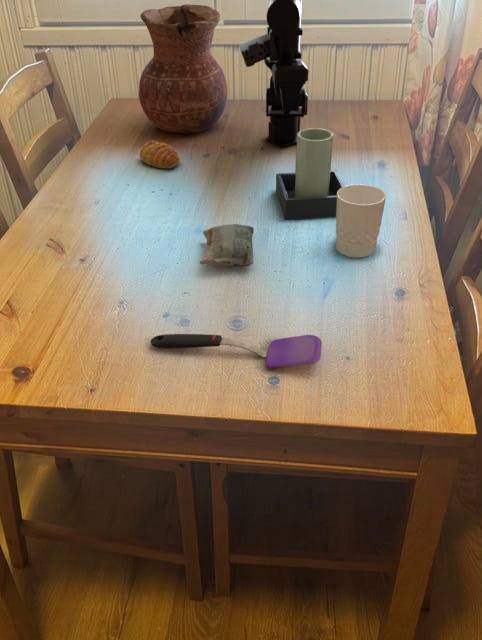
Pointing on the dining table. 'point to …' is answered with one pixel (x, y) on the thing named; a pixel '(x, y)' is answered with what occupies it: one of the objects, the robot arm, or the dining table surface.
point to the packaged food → (229, 246)
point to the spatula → (252, 347)
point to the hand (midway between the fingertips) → (282, 106)
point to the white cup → (358, 219)
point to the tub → (306, 198)
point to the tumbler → (313, 162)
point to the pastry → (159, 155)
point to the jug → (182, 70)
